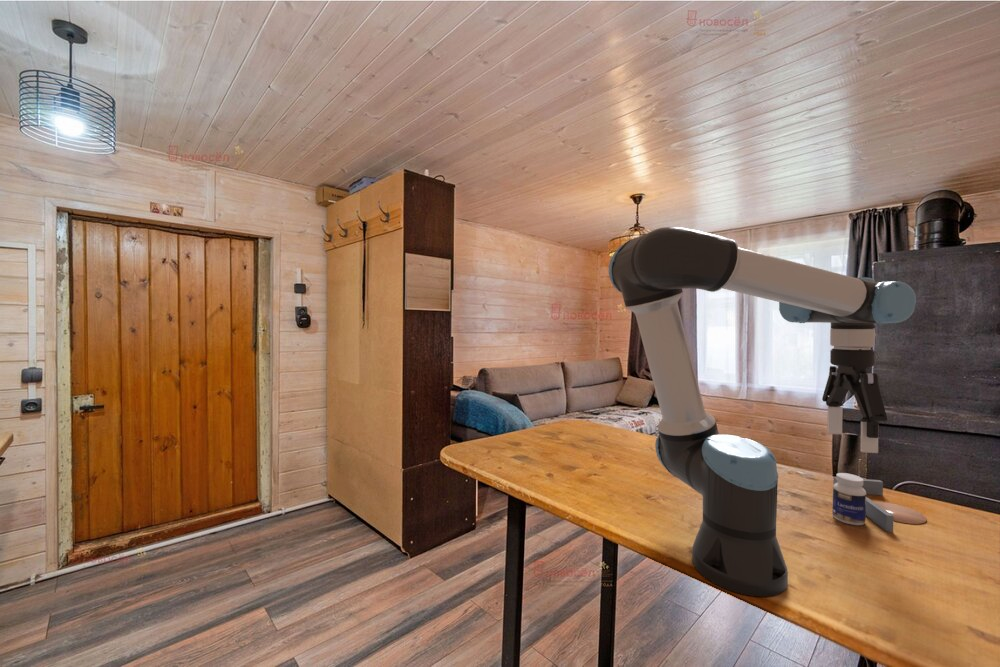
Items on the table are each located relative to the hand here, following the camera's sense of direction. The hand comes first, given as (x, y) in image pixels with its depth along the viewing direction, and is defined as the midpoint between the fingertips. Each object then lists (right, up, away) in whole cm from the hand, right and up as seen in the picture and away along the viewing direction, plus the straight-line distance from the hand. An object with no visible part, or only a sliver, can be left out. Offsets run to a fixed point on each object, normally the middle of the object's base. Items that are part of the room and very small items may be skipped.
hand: (850, 442), depth 92 cm
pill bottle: (0, -18, +1) cm, 18 cm away
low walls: (+11, -17, +5) cm, 21 cm away
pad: (+13, -17, +3) cm, 22 cm away
